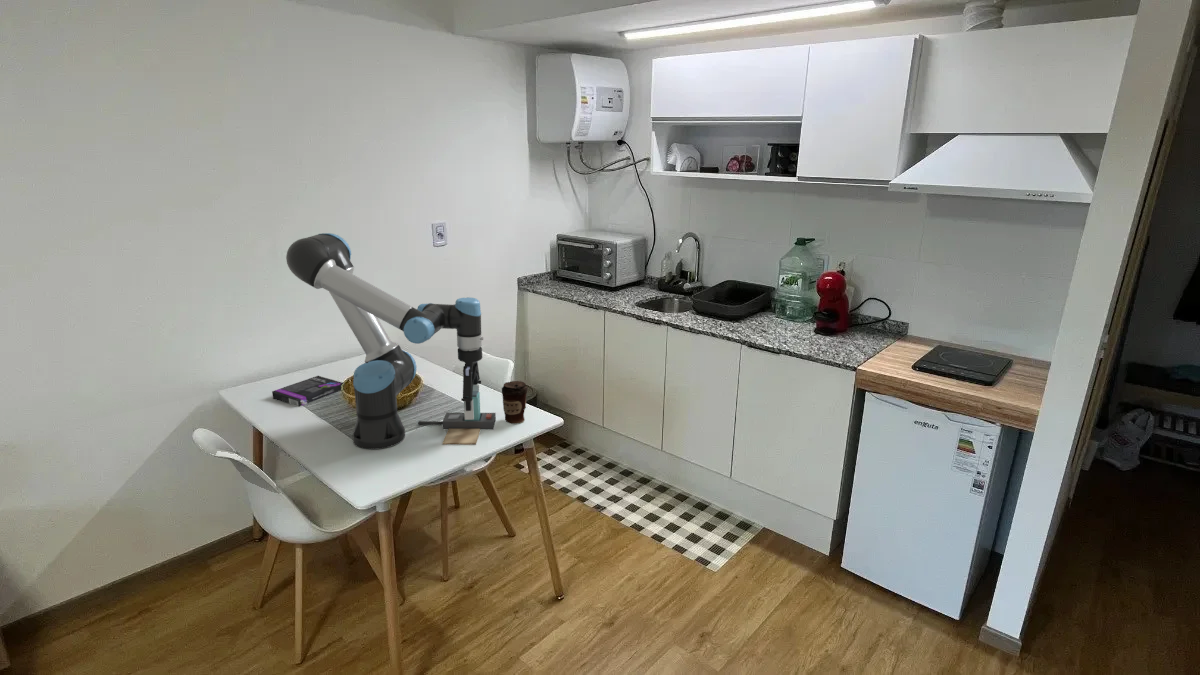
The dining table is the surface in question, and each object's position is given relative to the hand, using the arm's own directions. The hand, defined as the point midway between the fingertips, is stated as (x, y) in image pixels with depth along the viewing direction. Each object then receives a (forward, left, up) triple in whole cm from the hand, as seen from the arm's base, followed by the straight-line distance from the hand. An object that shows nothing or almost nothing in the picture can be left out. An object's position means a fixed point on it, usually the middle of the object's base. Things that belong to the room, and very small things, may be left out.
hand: (472, 411), depth 202 cm
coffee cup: (+13, +3, -5) cm, 15 cm away
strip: (-5, 0, -5) cm, 7 cm away
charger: (0, 0, -4) cm, 4 cm away
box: (-62, +26, -6) cm, 68 cm away
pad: (-2, -9, -5) cm, 10 cm away
